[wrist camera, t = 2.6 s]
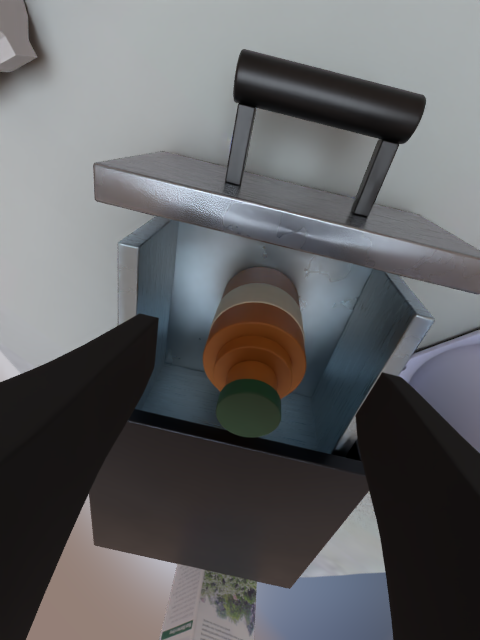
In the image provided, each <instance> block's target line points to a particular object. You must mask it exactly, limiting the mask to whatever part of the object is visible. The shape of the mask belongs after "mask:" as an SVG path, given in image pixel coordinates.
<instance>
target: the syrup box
mask: <svg viewBox="0 0 480 640" xmlns="http://www.w3.org/2000/svg"><path fill="white" fill-rule="evenodd" d="M256 586H257V581H253V580H248V579H244V578H239V577H235V576H230V575H226V574H221V573H217V572H212V571H208V570H203V569H199V568H194V567H190V566H185V565H181V564H177V568H176V572H175V576H174V580H173V585H172V589H171V593H170V597H169V602H168V605H167V610H166V614H165V618H164V622H163V626H162V630H161V635H160V638H159V640H254V632H255V631H254V630H255V609H256Z"/></svg>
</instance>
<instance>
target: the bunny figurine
mask: <svg viewBox="0 0 480 640" xmlns="http://www.w3.org/2000/svg"><path fill="white" fill-rule="evenodd" d="M35 58H37V55H36V53H35V51H34V50H33V48H32V46H31V44H30V42H29V40H28V15H27V11H26V8H25V4H24V1H23V0H0V72H12V71H14V70H16V69H17V68H19V67H21V66H23V65H24V64H26V63H28V62H30V61H32V60H33V59H35Z"/></svg>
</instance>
